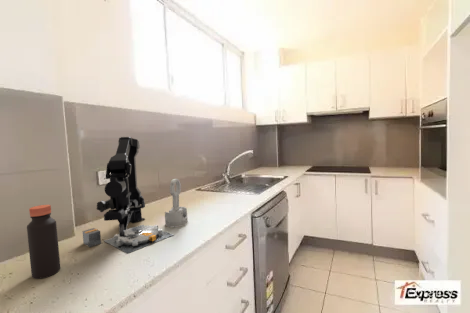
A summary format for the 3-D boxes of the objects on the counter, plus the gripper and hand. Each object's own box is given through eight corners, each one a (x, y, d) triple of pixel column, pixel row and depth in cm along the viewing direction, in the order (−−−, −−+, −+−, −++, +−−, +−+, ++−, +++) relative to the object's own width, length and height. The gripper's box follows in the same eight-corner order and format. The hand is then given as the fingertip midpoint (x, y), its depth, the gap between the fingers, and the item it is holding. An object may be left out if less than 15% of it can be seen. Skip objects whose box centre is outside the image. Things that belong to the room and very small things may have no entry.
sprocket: (108, 249, 85) (106, 231, 85) (119, 232, 102) (118, 216, 102) (161, 242, 89) (159, 225, 89) (163, 226, 106) (162, 212, 106)
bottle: (44, 267, 76) (38, 204, 74) (65, 266, 75) (60, 203, 74) (25, 279, 69) (18, 210, 68) (48, 279, 69) (41, 209, 67)
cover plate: (103, 241, 94) (103, 240, 94) (147, 226, 109) (147, 226, 109) (127, 253, 82) (127, 253, 82) (173, 235, 97) (173, 234, 97)
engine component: (161, 226, 108) (182, 227, 106) (158, 181, 107) (179, 181, 105) (172, 218, 119) (191, 219, 117) (169, 177, 118) (189, 177, 116)
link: (83, 243, 93) (82, 230, 93) (94, 240, 96) (93, 227, 96) (89, 247, 89) (88, 234, 89) (101, 243, 92) (100, 230, 92)
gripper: (110, 187, 103) (113, 223, 104) (86, 198, 84) (90, 242, 85) (137, 186, 103) (139, 221, 105) (119, 196, 85) (123, 239, 86)
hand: (124, 230), depth 95 cm, fingers closed
